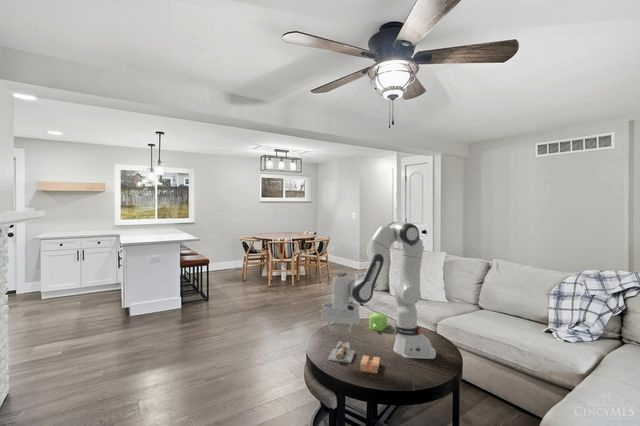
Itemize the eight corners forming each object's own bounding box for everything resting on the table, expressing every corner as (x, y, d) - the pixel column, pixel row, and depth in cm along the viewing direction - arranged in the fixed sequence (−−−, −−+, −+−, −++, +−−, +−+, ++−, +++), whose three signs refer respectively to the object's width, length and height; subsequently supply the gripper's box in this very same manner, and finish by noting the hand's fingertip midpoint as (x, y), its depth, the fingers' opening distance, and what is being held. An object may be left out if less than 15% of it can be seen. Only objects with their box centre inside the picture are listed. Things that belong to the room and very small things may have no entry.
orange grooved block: (379, 365, 163) (379, 357, 163) (377, 374, 154) (377, 366, 154) (363, 363, 166) (363, 355, 166) (360, 372, 156) (360, 364, 156)
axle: (341, 348, 179) (341, 343, 179) (347, 349, 178) (346, 343, 178) (335, 359, 165) (335, 353, 165) (342, 360, 164) (341, 353, 164)
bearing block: (354, 354, 176) (354, 343, 176) (350, 364, 164) (350, 352, 164) (333, 351, 179) (333, 340, 179) (328, 361, 168) (328, 349, 168)
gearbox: (381, 336, 202) (381, 321, 202) (366, 333, 207) (366, 318, 207) (390, 327, 218) (390, 313, 218) (376, 325, 223) (376, 311, 223)
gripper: (319, 304, 168) (319, 331, 168) (358, 307, 163) (358, 335, 163) (322, 301, 174) (322, 326, 174) (360, 304, 169) (360, 330, 169)
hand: (340, 331), depth 169 cm, fingers open, 8 cm apart
